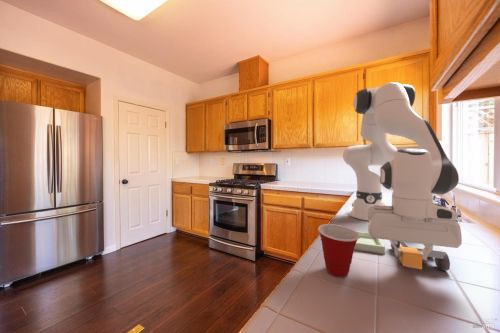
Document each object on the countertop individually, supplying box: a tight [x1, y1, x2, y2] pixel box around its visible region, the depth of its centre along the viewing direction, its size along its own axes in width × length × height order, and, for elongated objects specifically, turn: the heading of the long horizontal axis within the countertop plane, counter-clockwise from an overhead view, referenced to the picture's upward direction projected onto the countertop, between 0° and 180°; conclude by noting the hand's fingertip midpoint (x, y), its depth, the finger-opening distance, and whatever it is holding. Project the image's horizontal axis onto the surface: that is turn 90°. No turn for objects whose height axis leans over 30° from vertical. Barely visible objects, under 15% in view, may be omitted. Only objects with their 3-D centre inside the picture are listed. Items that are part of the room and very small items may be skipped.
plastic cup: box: [317, 223, 360, 278], centre depth 58 cm, size 11×11×12 cm
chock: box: [398, 245, 423, 270], centre depth 57 cm, size 5×4×4 cm
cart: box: [390, 241, 451, 272], centre depth 65 cm, size 14×11×8 cm
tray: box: [354, 230, 386, 255], centre depth 77 cm, size 13×10×2 cm
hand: (410, 257), depth 57 cm, fingers closed on chock, 4 cm apart
